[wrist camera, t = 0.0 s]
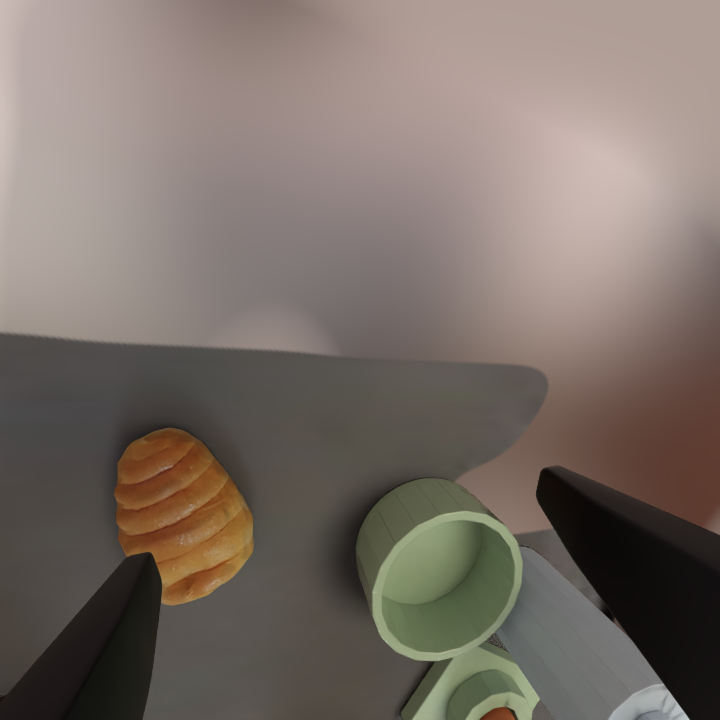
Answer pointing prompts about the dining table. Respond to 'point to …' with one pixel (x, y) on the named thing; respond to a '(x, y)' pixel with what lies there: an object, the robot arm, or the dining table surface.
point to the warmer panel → (472, 687)
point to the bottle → (579, 653)
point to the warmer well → (436, 569)
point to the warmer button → (498, 714)
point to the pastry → (182, 514)
